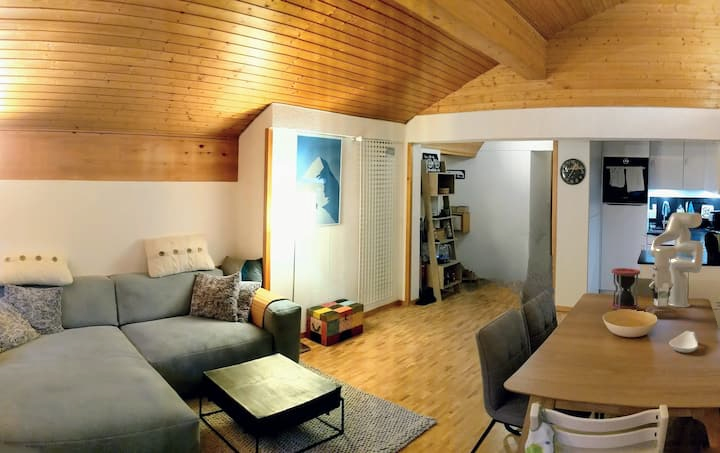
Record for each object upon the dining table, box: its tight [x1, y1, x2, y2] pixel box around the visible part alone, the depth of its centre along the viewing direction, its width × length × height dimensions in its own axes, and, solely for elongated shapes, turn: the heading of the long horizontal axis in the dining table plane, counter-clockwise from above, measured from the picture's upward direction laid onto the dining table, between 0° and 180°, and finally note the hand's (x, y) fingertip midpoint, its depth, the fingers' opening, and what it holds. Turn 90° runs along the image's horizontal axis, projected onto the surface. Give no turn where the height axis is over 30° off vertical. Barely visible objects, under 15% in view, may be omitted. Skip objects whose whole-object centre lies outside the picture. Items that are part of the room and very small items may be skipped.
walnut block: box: [644, 305, 677, 320], centre depth 317 cm, size 12×12×5 cm
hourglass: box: [610, 267, 641, 311], centre depth 334 cm, size 16×16×25 cm
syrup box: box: [653, 283, 669, 307], centre depth 316 cm, size 6×6×14 cm
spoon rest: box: [669, 330, 699, 354], centre depth 259 cm, size 24×12×7 cm, turn 136°
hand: (660, 297), depth 316 cm, fingers closed on syrup box, 6 cm apart
